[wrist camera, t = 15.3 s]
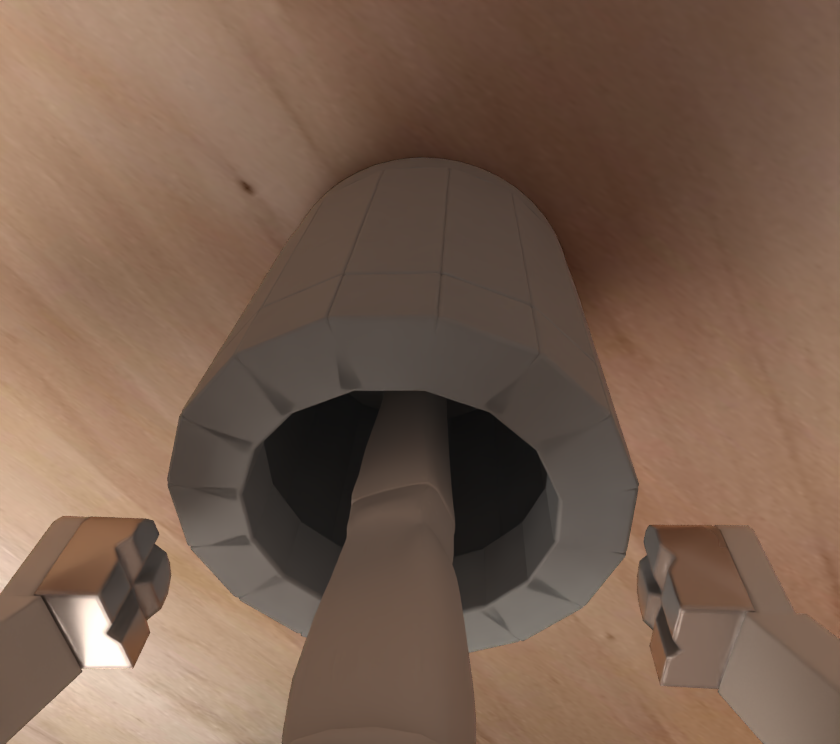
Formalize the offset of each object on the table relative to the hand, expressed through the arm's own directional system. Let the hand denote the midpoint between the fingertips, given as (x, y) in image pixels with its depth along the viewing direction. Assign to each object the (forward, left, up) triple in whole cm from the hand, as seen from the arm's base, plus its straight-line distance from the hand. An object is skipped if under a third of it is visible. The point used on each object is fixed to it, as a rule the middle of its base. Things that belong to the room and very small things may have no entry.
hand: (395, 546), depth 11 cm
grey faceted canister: (0, 0, -9) cm, 9 cm away
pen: (0, 0, -8) cm, 8 cm away
